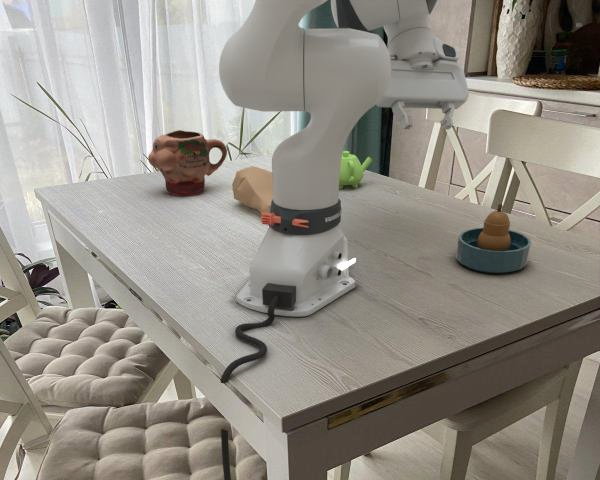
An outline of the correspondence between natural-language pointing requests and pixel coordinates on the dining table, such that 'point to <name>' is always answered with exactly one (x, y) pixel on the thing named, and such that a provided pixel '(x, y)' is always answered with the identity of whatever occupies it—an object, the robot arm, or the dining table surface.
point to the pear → (495, 232)
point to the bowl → (492, 253)
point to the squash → (254, 188)
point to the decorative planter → (185, 160)
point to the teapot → (351, 169)
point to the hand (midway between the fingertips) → (427, 128)
